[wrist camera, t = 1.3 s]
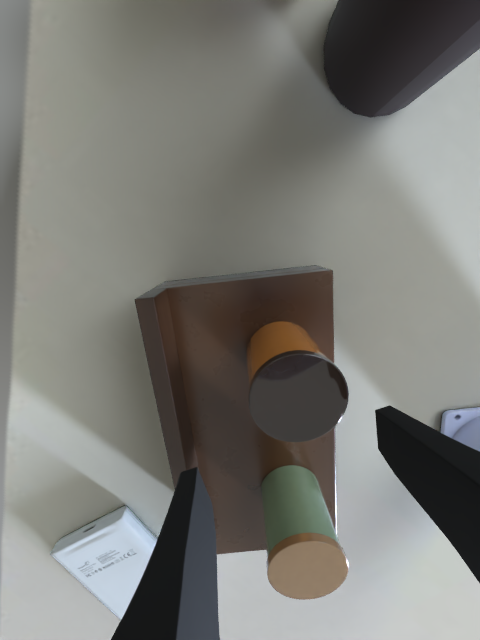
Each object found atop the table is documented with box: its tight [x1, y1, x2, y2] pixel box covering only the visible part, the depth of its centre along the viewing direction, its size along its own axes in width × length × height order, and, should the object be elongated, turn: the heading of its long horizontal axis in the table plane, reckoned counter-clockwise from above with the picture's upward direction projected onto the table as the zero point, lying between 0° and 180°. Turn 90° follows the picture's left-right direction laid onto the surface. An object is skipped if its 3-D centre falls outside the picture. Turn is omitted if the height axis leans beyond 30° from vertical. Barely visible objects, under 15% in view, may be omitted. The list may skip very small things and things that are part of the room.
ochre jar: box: [246, 321, 349, 442], centre depth 15 cm, size 5×5×6 cm
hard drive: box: [50, 506, 158, 620], centre depth 27 cm, size 2×8×12 cm
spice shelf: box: [135, 265, 337, 554], centre depth 20 cm, size 11×22×6 cm, turn 6°
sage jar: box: [261, 465, 348, 600], centre depth 18 cm, size 5×5×6 cm
